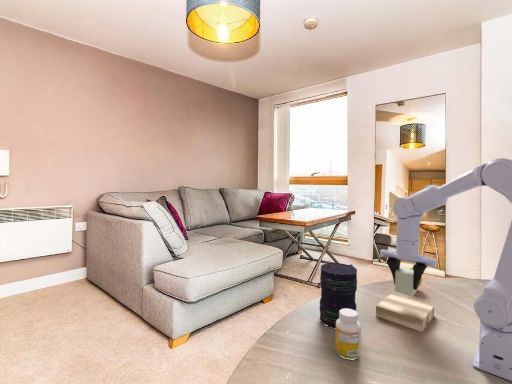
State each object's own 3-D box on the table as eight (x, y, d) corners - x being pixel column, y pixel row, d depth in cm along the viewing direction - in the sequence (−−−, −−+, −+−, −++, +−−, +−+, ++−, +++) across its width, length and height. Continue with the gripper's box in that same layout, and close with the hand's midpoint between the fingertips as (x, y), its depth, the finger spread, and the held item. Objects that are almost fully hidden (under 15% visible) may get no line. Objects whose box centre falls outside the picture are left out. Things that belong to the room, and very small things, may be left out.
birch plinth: (422, 331, 74) (422, 320, 74) (375, 315, 82) (376, 305, 82) (433, 316, 82) (434, 305, 82) (390, 302, 91) (391, 293, 91)
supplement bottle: (340, 344, 68) (341, 304, 68) (363, 352, 65) (364, 311, 64) (331, 354, 64) (332, 312, 64) (354, 364, 61) (356, 320, 60)
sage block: (411, 296, 79) (412, 274, 79) (394, 291, 82) (395, 271, 82) (416, 291, 82) (417, 271, 82) (400, 287, 85) (400, 267, 85)
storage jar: (360, 318, 81) (361, 266, 80) (350, 334, 72) (352, 277, 72) (326, 309, 86) (327, 260, 85) (313, 323, 78) (314, 269, 77)
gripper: (440, 241, 79) (438, 289, 80) (386, 233, 89) (385, 276, 90) (434, 245, 74) (432, 296, 75) (377, 237, 84) (376, 282, 85)
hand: (405, 286), depth 82 cm, fingers closed on sage block, 4 cm apart
